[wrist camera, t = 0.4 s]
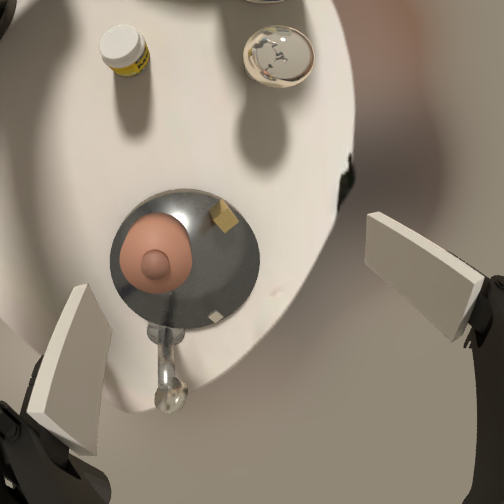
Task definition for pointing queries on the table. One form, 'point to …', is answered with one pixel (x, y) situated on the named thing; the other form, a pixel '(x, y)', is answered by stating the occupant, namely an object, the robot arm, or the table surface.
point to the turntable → (195, 261)
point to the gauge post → (167, 369)
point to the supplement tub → (265, 1)
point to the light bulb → (278, 56)
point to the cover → (156, 253)
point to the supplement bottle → (124, 50)
